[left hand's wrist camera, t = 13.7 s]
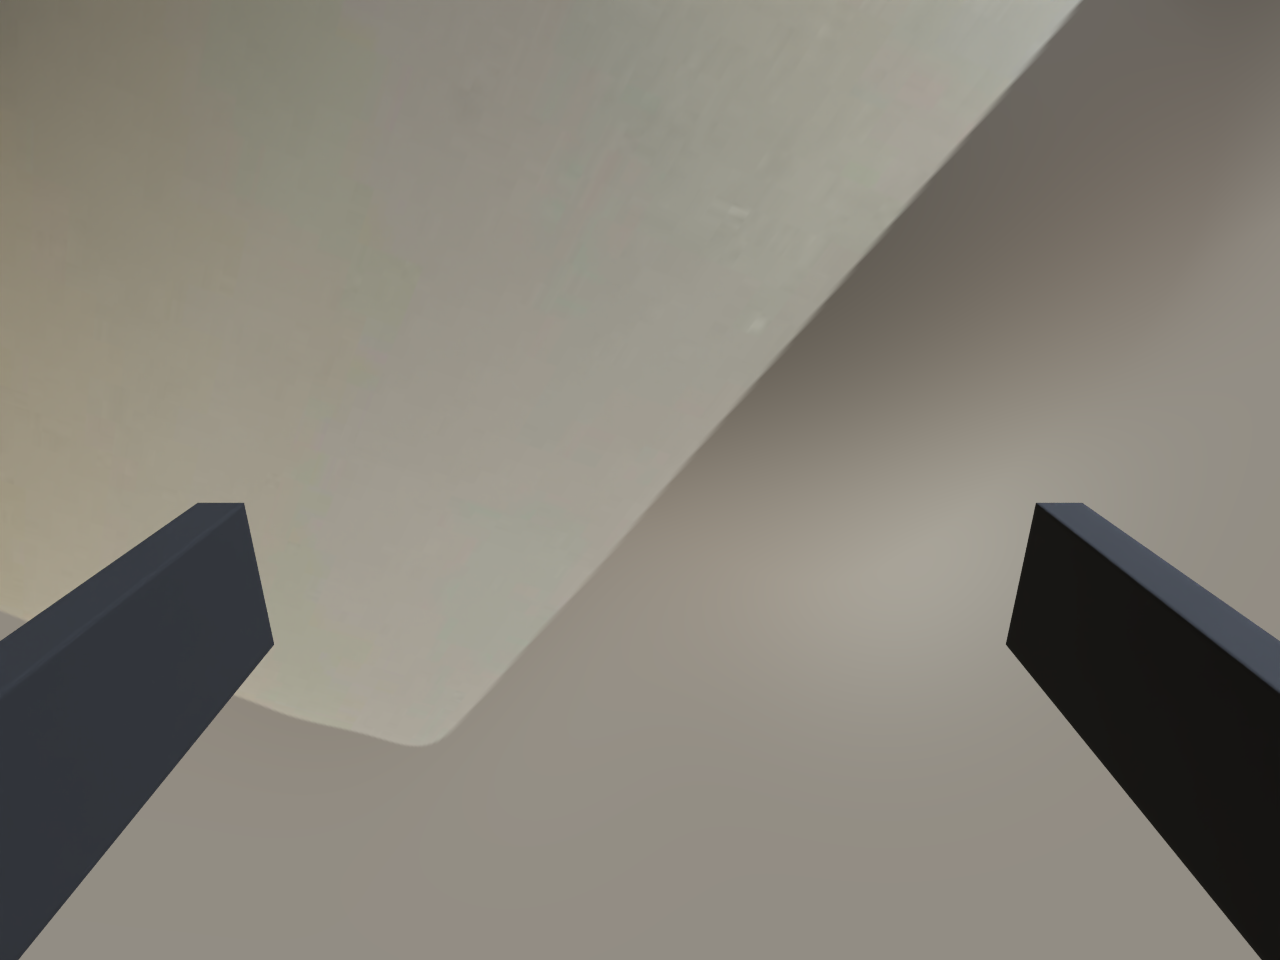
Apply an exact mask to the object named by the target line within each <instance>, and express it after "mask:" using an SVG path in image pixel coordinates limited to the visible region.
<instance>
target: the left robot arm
mask: <svg viewBox="0 0 1280 960" xmlns="http://www.w3.org/2000/svg"><path fill="white" fill-rule="evenodd" d="M273 645H274V642H273V637H272V632H271V628H270V623H269V618H268V614H267V609H266V604H265V599H264V595H263V590H262V585H261V581H260V576H259V571H258V567H257V562H256V557H255V553H254V548H253V543H252V538H251V534H250V529H249V524H248V520H247V515H246V510H245V506H244V503H197V504H196V505H194V506H193V507H191V508H190V509H188V510H187V511H186V512H184V513H183V514H181V515H180V516H178V517H177V518H176V519H174V520H173V521H171V522H170V523H168V524H167V525H166V526H164V527H163V528H161V529H160V530H158V531H157V532H156V533H154V534H153V535H151V536H150V537H148V538H147V539H146V540H144V541H143V542H141V543H140V544H138V545H137V546H136V547H134V548H133V549H131V550H130V551H128V552H127V553H126V554H124V555H123V556H121V557H120V558H118V559H117V560H116V561H114V562H113V563H111V564H110V565H108V566H107V567H106V568H104V569H103V570H101V571H100V572H98V573H97V574H96V575H94V576H93V577H91V578H90V579H88V580H87V581H86V582H84V583H83V584H81V585H80V586H78V587H77V588H76V589H74V590H73V591H71V592H70V593H68V594H67V595H66V596H64V597H63V598H61V599H60V600H58V601H57V602H56V603H54V604H53V605H51V606H50V607H48V608H47V609H46V610H44V611H43V612H41V613H40V614H38V615H37V616H36V617H34V618H33V619H31V620H30V621H28V622H27V623H26V624H24V625H23V626H21V627H20V628H18V629H17V630H16V631H14V632H13V633H11V634H10V635H8V636H7V637H6V638H4V639H3V640H1V641H0V960H18V959H19V958H20V957H21V956H22V955H23V953H24V952H25V951H26V950H27V948H28V947H29V946H30V945H31V943H32V942H33V941H34V940H35V938H36V937H37V936H38V935H39V934H40V932H41V931H42V930H43V929H44V927H45V926H46V925H47V924H48V922H49V921H50V920H51V919H52V918H53V916H54V915H55V914H56V913H57V911H58V910H59V909H60V908H61V906H62V905H63V904H64V903H65V902H66V900H67V899H68V898H69V897H70V895H71V894H72V893H73V892H74V890H75V889H76V888H77V887H78V886H79V884H80V883H81V882H82V881H83V879H84V878H85V877H86V876H87V874H88V873H89V872H90V871H91V869H92V868H93V867H94V866H95V865H96V863H97V862H98V861H99V860H100V858H101V857H102V856H103V855H104V853H105V852H106V851H107V850H108V849H109V847H110V846H111V845H112V844H113V842H114V841H115V840H116V839H117V837H118V836H119V835H120V834H121V833H122V831H123V830H124V829H125V828H126V826H127V825H128V824H129V823H130V821H131V820H132V819H133V818H134V816H135V815H136V814H137V813H138V812H139V810H140V809H141V808H142V807H143V805H144V804H145V803H146V802H147V800H148V799H149V798H150V797H151V796H152V794H153V793H154V792H155V791H156V789H157V788H158V787H159V786H160V784H161V783H162V782H163V781H164V780H165V778H166V777H167V776H168V774H169V773H170V772H171V771H172V770H173V768H174V767H175V766H176V765H177V763H178V762H179V761H180V760H181V759H182V757H183V756H184V755H185V754H186V752H187V751H188V750H189V749H190V747H191V746H192V745H193V744H194V742H195V741H196V740H197V739H198V738H199V736H200V735H201V734H202V733H203V731H204V730H205V729H206V728H207V727H208V725H209V724H210V723H211V722H212V720H213V719H214V718H215V717H216V715H217V714H218V713H219V712H220V710H221V709H222V708H223V707H224V706H225V704H226V703H227V702H228V701H229V699H230V698H231V697H232V696H233V694H234V693H235V692H236V691H237V690H238V688H239V687H240V686H241V685H242V683H243V682H244V681H245V680H246V678H247V677H248V676H249V675H250V673H251V672H252V671H253V670H254V669H255V667H256V666H257V665H258V664H259V662H260V661H261V660H262V659H263V657H264V656H265V655H266V654H267V653H268V651H269V650H270V649H271V648H272V646H273ZM1006 645H1007V646H1008V648H1009V649H1010V650H1011V651H1012V653H1013V654H1014V655H1015V656H1016V657H1017V659H1018V660H1019V661H1020V662H1021V664H1022V665H1023V666H1024V667H1025V669H1026V670H1027V671H1028V672H1029V673H1030V675H1031V676H1032V677H1033V678H1034V680H1035V681H1036V682H1037V683H1038V685H1039V686H1040V687H1041V688H1042V689H1043V691H1044V692H1045V693H1046V694H1047V696H1048V697H1049V698H1050V699H1051V701H1052V702H1053V703H1054V704H1055V705H1056V707H1057V708H1058V709H1059V710H1060V712H1061V713H1062V714H1063V715H1064V717H1065V718H1066V719H1067V720H1068V722H1069V723H1070V724H1071V725H1072V726H1073V728H1074V729H1075V730H1076V731H1077V733H1078V734H1079V735H1080V736H1081V738H1082V739H1083V740H1084V741H1085V743H1086V744H1087V745H1088V746H1089V747H1090V749H1091V750H1092V751H1093V752H1094V754H1095V755H1096V756H1097V757H1098V759H1099V760H1100V761H1101V762H1102V763H1103V765H1104V766H1105V767H1106V768H1107V770H1108V771H1109V772H1110V773H1111V775H1112V776H1113V777H1114V778H1115V780H1116V781H1117V782H1118V783H1119V784H1120V786H1121V787H1122V788H1123V789H1124V791H1125V792H1126V793H1127V794H1128V796H1129V797H1130V798H1131V799H1132V800H1133V802H1134V803H1135V804H1136V805H1137V807H1138V808H1139V809H1140V810H1141V812H1142V813H1143V814H1144V815H1145V816H1146V818H1147V819H1148V820H1149V821H1150V823H1151V824H1152V825H1153V826H1154V828H1155V829H1156V830H1157V831H1158V833H1159V834H1160V835H1161V836H1162V837H1163V839H1164V840H1165V841H1166V842H1167V844H1168V845H1169V846H1170V847H1171V849H1172V850H1173V851H1174V852H1175V853H1176V855H1177V856H1178V857H1179V858H1180V860H1181V861H1182V862H1183V863H1184V865H1185V866H1186V867H1187V868H1188V869H1189V871H1190V872H1191V873H1192V874H1193V876H1194V877H1195V878H1196V879H1197V881H1198V882H1199V883H1200V884H1201V886H1202V887H1203V888H1204V889H1205V890H1206V892H1207V893H1208V894H1209V895H1210V897H1211V898H1212V899H1213V900H1214V901H1215V903H1216V904H1217V905H1218V906H1219V908H1220V909H1221V910H1222V911H1223V913H1224V914H1225V915H1226V916H1227V918H1228V919H1229V920H1230V921H1231V922H1232V924H1233V925H1234V926H1235V927H1236V929H1237V930H1238V931H1239V932H1240V933H1241V935H1242V936H1243V937H1244V939H1245V940H1246V941H1247V942H1248V943H1249V945H1250V946H1251V947H1252V948H1253V950H1254V951H1255V952H1256V953H1257V955H1258V956H1259V957H1260V958H1261V959H1262V960H1280V641H1279V640H1277V639H1276V638H1274V637H1273V636H1272V635H1270V634H1269V633H1267V632H1266V631H1264V630H1263V629H1262V628H1260V627H1259V626H1257V625H1256V624H1254V623H1253V622H1252V621H1250V620H1249V619H1247V618H1246V617H1244V616H1243V615H1242V614H1240V613H1239V612H1237V611H1236V610H1234V609H1233V608H1232V607H1230V606H1229V605H1227V604H1226V603H1224V602H1223V601H1222V600H1220V599H1219V598H1217V597H1216V596H1214V595H1213V594H1212V593H1210V592H1209V591H1207V590H1206V589H1204V588H1203V587H1202V586H1200V585H1199V584H1197V583H1196V582H1194V581H1193V580H1192V579H1190V578H1189V577H1187V576H1186V575H1184V574H1183V573H1182V572H1180V571H1179V570H1177V569H1176V568H1174V567H1173V566H1172V565H1170V564H1169V563H1167V562H1166V561H1164V560H1163V559H1162V558H1160V557H1159V556H1157V555H1156V554H1154V553H1153V552H1152V551H1150V550H1149V549H1147V548H1146V547H1144V546H1143V545H1142V544H1140V543H1139V542H1137V541H1136V540H1134V539H1133V538H1132V537H1130V536H1129V535H1127V534H1126V533H1124V532H1123V531H1122V530H1120V529H1119V528H1117V527H1116V526H1114V525H1113V524H1112V523H1110V522H1109V521H1107V520H1106V519H1104V518H1103V517H1102V516H1100V515H1099V514H1097V513H1096V512H1094V511H1093V510H1092V509H1090V508H1089V507H1087V506H1086V505H1084V504H1083V503H1036V506H1035V510H1034V515H1033V520H1032V524H1031V529H1030V534H1029V538H1028V543H1027V548H1026V553H1025V557H1024V562H1023V567H1022V571H1021V576H1020V581H1019V585H1018V590H1017V595H1016V599H1015V604H1014V609H1013V614H1012V618H1011V623H1010V628H1009V632H1008V637H1007V642H1006Z"/></svg>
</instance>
